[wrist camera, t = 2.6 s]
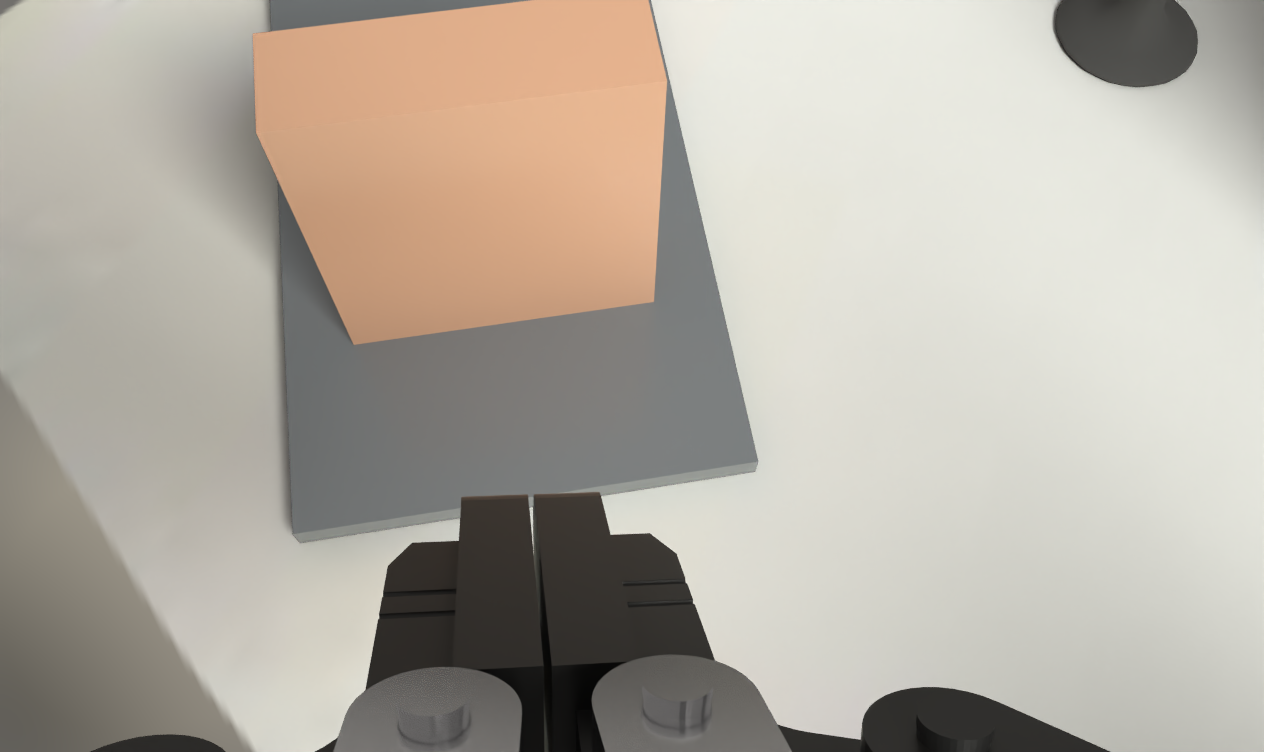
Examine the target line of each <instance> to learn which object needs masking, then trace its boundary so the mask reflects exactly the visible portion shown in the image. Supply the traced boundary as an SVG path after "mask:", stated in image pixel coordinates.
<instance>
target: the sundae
mask: <svg viewBox="0 0 1264 752" xmlns="http://www.w3.org/2000/svg"><path fill="white" fill-rule="evenodd" d="M1056 31H1057V34H1058V37H1059V39H1060V42H1061V44H1062V45H1063V47H1064V49H1065V51H1066V52H1067V53H1068V54H1069V56H1070V57H1071V58H1072V59H1073V60H1074V61H1075V62H1076V63H1077V64H1078V65H1080V66H1081V67H1082V68H1083V69H1084V70H1086V71H1087V72H1089V73H1091V74H1093V75H1095V76H1096V77H1099V78H1101V79H1103V80H1105V81H1108V82H1110V83H1115V84H1119V85H1124V86H1132V87H1145V86H1154V85H1159V84H1164V83H1167V82H1169V81H1171V80H1173V79H1175V78H1177V77H1178V76H1180V75H1181V74H1183V73H1184V72H1186V70H1187V69H1188V68H1189V66H1190V65H1191V64H1192V62H1193V60H1194V58H1195V56H1196V54H1197V44H1198V39H1197V30H1196V28H1195V26H1194V24H1193V22H1192V20H1191V18H1190V17H1189V15H1188V14H1187V12H1186V11H1185V10H1184V9H1183V8H1182V7H1181V6H1180V5H1179V4H1178V3H1177V2H1176V1H1175V0H1063V1H1062V2H1061V4H1060V6H1059V8H1058V9H1057V15H1056Z"/></svg>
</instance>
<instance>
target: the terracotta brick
mask: <svg viewBox="0 0 1264 752" xmlns="http://www.w3.org/2000/svg"><path fill="white" fill-rule="evenodd" d="M253 56H254V86H255V116H256V134H257V136H258V138H259V140H260V142H261V145H262V147H263V149H264V151H265V153H266V155H267V158H268V160H269V162H270V164H271V166H272V168H273V171H274V173H275V175H276V177H277V179H278V181H279V184H280V186H281V188H282V190H283V192H284V195H285V197H286V199H287V201H288V203H289V205H290V208H291V210H292V212H293V214H294V216H295V218H296V221H297V223H298V225H299V227H300V229H301V231H302V234H303V236H304V238H305V240H306V242H307V244H308V247H309V249H310V251H311V253H312V255H313V258H314V260H315V262H316V264H317V266H318V268H319V271H320V273H321V275H322V277H323V279H324V281H325V284H326V286H327V288H328V290H329V292H330V294H331V297H332V299H333V301H334V303H335V305H336V308H337V310H338V312H339V314H340V316H341V318H342V321H343V323H344V325H345V327H346V329H347V331H348V334H349V336H350V338H351V340H352V342H353V344H354V345H356V344H363V343H370V342H377V341H384V340H391V339H398V338H405V337H412V336H419V335H426V334H433V333H440V332H447V331H454V330H461V329H468V328H475V327H482V326H489V325H496V324H503V323H510V322H517V321H524V320H531V319H538V318H545V317H552V316H559V315H566V314H573V313H580V312H587V311H594V310H601V309H608V308H615V307H622V306H629V305H636V304H643V303H650V302H654V293H655V276H656V259H657V242H658V225H659V209H660V192H661V175H662V158H663V141H664V124H665V108H666V91H667V78H666V74H665V69H664V65H663V61H662V57H661V52H660V48H659V44H658V39H657V35H656V31H655V26H654V22H653V18H652V13H651V9H650V5H649V0H530V1H522V2H513V3H505V4H497V5H488V6H480V7H472V8H463V9H455V10H447V11H438V12H430V13H421V14H413V15H405V16H396V17H388V18H380V19H371V20H363V21H354V22H346V23H338V24H329V25H321V26H313V27H304V28H296V29H288V30H279V31H271V32H262V33H254V34H253Z"/></svg>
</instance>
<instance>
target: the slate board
mask: <svg viewBox="0 0 1264 752" xmlns="http://www.w3.org/2000/svg"><path fill="white" fill-rule="evenodd" d="M522 1H530V0H270V12H271V31H279V30H288V29H296V28H304V27H313V26H321V25H329V24H338V23H346V22H354V21H363V20H371V19H380V18H388V17H396V16H405V15H413V14H421V13H430V12H438V11H447V10H455V9H463V8H472V7H480V6H488V5H497V4H505V3H513V2H522ZM649 5H650V9H651V13H652V18H653V22H654V26H655V31H656V35H657V39H658V44H659V48H660V52H661V57H662V61H663V65H664V69H665V74H666V78H667V91H666V108H665V124H664V141H663V158H662V175H661V192H660V209H659V225H658V242H657V259H656V276H655V293H654V302H650V303H643V304H636V305H629V306H622V307H615V308H608V309H601V310H594V311H587V312H580V313H573V314H566V315H559V316H552V317H545V318H538V319H531V320H524V321H517V322H510V323H503V324H496V325H489V326H482V327H475V328H468V329H461V330H454V331H447V332H440V333H433V334H426V335H419V336H412V337H405V338H398V339H391V340H384V341H377V342H370V343H363V344H356V345H354V344H353V342H352V340H351V338H350V336H349V334H348V331H347V329H346V327H345V325H344V323H343V321H342V318H341V316H340V314H339V312H338V310H337V308H336V305H335V303H334V301H333V299H332V297H331V294H330V292H329V290H328V288H327V286H326V284H325V281H324V279H323V277H322V275H321V273H320V271H319V268H318V266H317V264H316V262H315V260H314V258H313V255H312V253H311V251H310V249H309V247H308V244H307V242H306V240H305V238H304V236H303V234H302V231H301V229H300V227H299V225H298V223H297V221H296V218H295V216H294V214H293V212H292V210H291V208H290V205H289V203H288V201H287V199H286V197H285V195H284V192H283V190H282V188H281V186H280V184H279V181H278V200H279V223H280V247H281V270H282V294H283V317H284V341H285V364H286V388H287V411H288V435H289V458H290V481H291V505H292V528H293V535H294V536H295V538H296V539H297V540H298V541H299V542H300V543H304V542H310V541H317V540H323V539H329V538H336V537H342V536H348V535H355V534H361V533H368V532H374V531H380V530H387V529H393V528H399V527H406V526H412V525H419V524H425V523H431V522H438V521H444V520H450V519H457V518H460V512H461V497H467V496H495V495H523V494H528V500H529V507H533V496H534V494H555V493H583V492H600V495H601V496H604V495H610V494H616V493H623V492H629V491H635V490H642V489H648V488H655V487H661V486H667V485H674V484H680V483H686V482H693V481H699V480H706V479H712V478H718V477H725V476H731V475H737V474H744V473H750V472H755V471H756V467H757V464H758V458H757V454H756V450H755V445H754V441H753V437H752V433H751V428H750V424H749V420H748V415H747V411H746V407H745V403H744V398H743V394H742V390H741V385H740V381H739V377H738V373H737V368H736V364H735V360H734V355H733V351H732V347H731V342H730V338H729V334H728V330H727V325H726V321H725V317H724V312H723V308H722V304H721V300H720V295H719V291H718V287H717V282H716V278H715V274H714V270H713V265H712V261H711V257H710V252H709V248H708V244H707V240H706V235H705V231H704V227H703V222H702V218H701V214H700V209H699V205H698V201H697V197H696V192H695V188H694V184H693V179H692V175H691V171H690V167H689V162H688V158H687V154H686V149H685V145H684V141H683V137H682V132H681V128H680V124H679V119H678V115H677V111H676V106H675V102H674V98H673V94H672V89H671V85H670V81H669V76H668V72H667V68H666V64H665V59H664V55H663V51H662V46H661V42H660V38H659V34H658V29H657V25H656V21H655V16H654V12H653V8H652V4H651V0H649Z"/></svg>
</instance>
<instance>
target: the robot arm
mask: <svg viewBox="0 0 1264 752" xmlns="http://www.w3.org/2000/svg"><path fill="white" fill-rule="evenodd" d="M533 540H534V555H533V544H532V533H531V522H530V511H529V500H528V494H523V495H495V496H467V497H461V512H460V532H459V541H446V542H421V543H412V544H410V545H409V546H408V547H407V548H406V549H405V550H404V551H403V552H402V553H401V554H400V555H399V556H398V557H397V558H396V559H395V560H394V561H393V562H392V563H391V564H390V565H389V566H388V569H387V574H386V580H385V585H384V591H383V597H382V602H381V607H380V613H379V619H378V624H377V629H376V635H375V640H374V646H373V652H372V657H371V663H370V668H369V674H368V679H367V685H366V690H365V691H364V692H363V693H362V694H361V695H360V696H358V697H357V698H356V699H355V701H354V702H353V703H352V704H351V706H350V707H349V709H348V711H347V713H346V715H345V718H344V721H343V724H342V727H341V730H340V733H339V736H338V738H337V739H335V740H334V741H332V742H331V743H329V744H328V745H326V746H325V747H323V748H321V749H319V750H317V751H315V752H1110V751H1107V750H1105V749H1103V748H1101V747H1098V746H1096V745H1094V744H1092V743H1089V742H1087V741H1085V740H1083V739H1080V738H1078V737H1076V736H1074V735H1071V734H1069V733H1067V732H1065V731H1062V730H1060V729H1058V728H1055V727H1053V726H1051V725H1049V724H1046V723H1044V722H1042V721H1040V720H1037V719H1035V718H1033V717H1031V716H1028V715H1026V714H1024V713H1022V712H1019V711H1017V710H1015V709H1013V708H1010V707H1008V706H1006V705H1004V704H1001V703H999V702H997V701H994V700H992V699H989V698H986V697H984V696H981V695H977V694H974V693H970V692H966V691H961V690H956V689H949V688H939V687H921V688H910V689H905V690H900V691H896V692H893V693H891V694H888V695H885V696H884V697H882V698H880V699H878V700H877V701H876V702H874V703H873V704H872V705H871V706H870V707H869V708H868V710H867V712H866V713H865V715H864V718H863V722H862V732H861V740H858V739H851V738H844V737H837V736H830V735H823V734H816V733H810V732H804V731H799V730H794V729H791V728H787V727H784V726H780V725H778V724H777V723H776V721H775V720H774V718H773V716H772V714H771V712H770V710H769V709H768V707H767V705H766V703H765V701H764V699H763V698H762V696H761V694H760V692H759V691H758V689H757V688H756V686H755V685H754V683H752V682H751V681H750V680H749V679H748V678H747V677H746V676H745V675H743V674H742V673H740V672H739V671H737V670H735V669H733V668H731V667H729V666H727V665H725V664H722V663H720V662H717V661H715V659H714V657H713V654H712V651H711V648H710V646H709V643H708V640H707V637H706V634H705V632H704V629H703V626H702V623H701V621H700V618H699V615H698V612H697V610H696V607H695V604H693V599H692V596H691V593H690V590H689V587H688V585H687V583H685V576H684V574H683V571H682V568H681V565H680V563H679V560H678V557H677V554H676V553H675V552H673V551H672V550H671V549H669V548H668V547H667V546H665V545H664V544H663V543H661V542H660V541H659V540H658V539H656V538H655V537H654V536H652V535H651V534H650V533H647V534H622V535H610V531H609V527H608V523H607V519H606V515H605V511H604V507H603V502H602V498H601V495H600V492H583V493H555V494H534V496H533ZM91 752H225V751H224V750H223V749H222V748H221V747H219V746H217V745H215V744H214V743H212V742H209V741H206V740H204V739H200V738H196V737H191V736H185V735H152V736H145V737H137V738H132V739H128V740H123V741H119V742H116V743H113V744H110V745H107V746H103V747H101V748H98V749H96V750H93V751H91Z"/></svg>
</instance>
